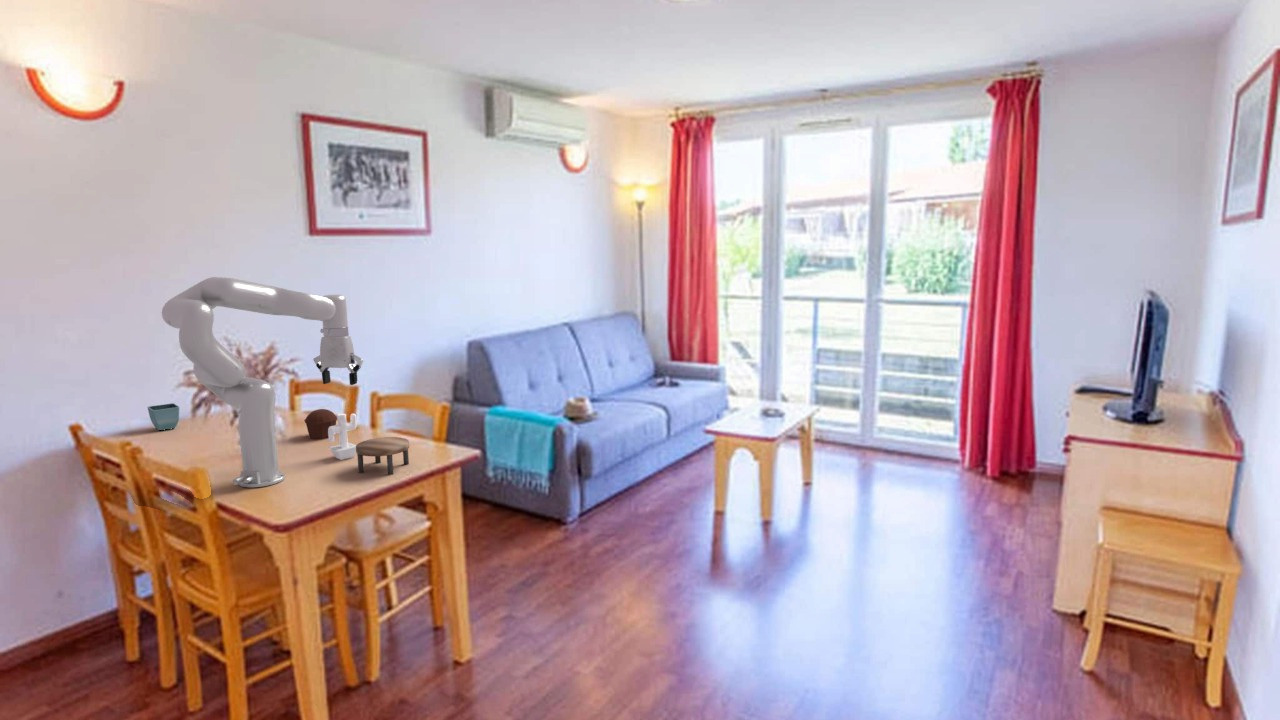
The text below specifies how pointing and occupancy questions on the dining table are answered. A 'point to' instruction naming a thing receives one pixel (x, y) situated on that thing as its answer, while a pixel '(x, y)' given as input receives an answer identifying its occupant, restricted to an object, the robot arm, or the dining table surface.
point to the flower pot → (164, 416)
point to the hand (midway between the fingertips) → (340, 383)
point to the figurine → (342, 437)
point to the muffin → (320, 423)
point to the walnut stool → (382, 450)
